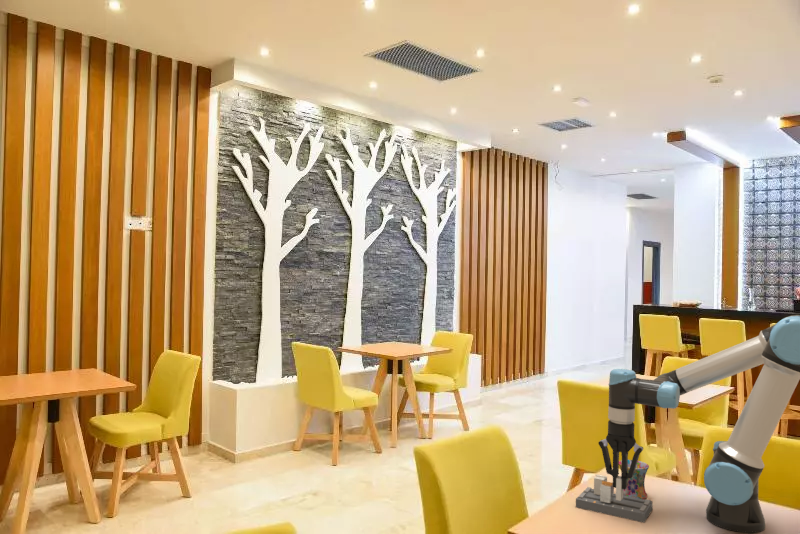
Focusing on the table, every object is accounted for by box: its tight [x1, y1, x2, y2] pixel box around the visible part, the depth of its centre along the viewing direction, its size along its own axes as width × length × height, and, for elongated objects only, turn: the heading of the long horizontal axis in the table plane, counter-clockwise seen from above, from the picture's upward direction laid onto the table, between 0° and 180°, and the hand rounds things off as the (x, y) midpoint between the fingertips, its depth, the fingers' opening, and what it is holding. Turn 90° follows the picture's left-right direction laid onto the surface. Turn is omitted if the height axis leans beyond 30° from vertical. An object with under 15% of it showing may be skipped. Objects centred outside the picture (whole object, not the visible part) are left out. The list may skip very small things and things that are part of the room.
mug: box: [619, 459, 650, 500], centre depth 200 cm, size 12×9×11 cm
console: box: [575, 474, 653, 523], centre depth 188 cm, size 20×12×8 cm, turn 57°
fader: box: [600, 481, 615, 503], centre depth 187 cm, size 3×4×6 cm
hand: (619, 498), depth 185 cm, fingers closed
